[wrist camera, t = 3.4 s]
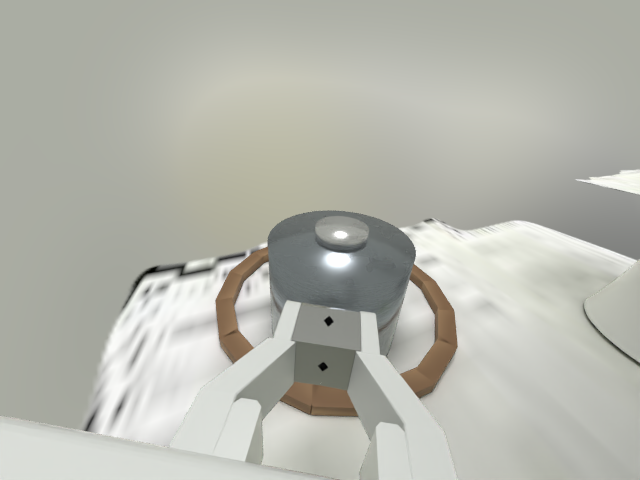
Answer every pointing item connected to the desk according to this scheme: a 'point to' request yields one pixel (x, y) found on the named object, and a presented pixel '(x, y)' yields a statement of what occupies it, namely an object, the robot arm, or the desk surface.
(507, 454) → the desk surface
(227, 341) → the locating ring
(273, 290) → the metal cover
